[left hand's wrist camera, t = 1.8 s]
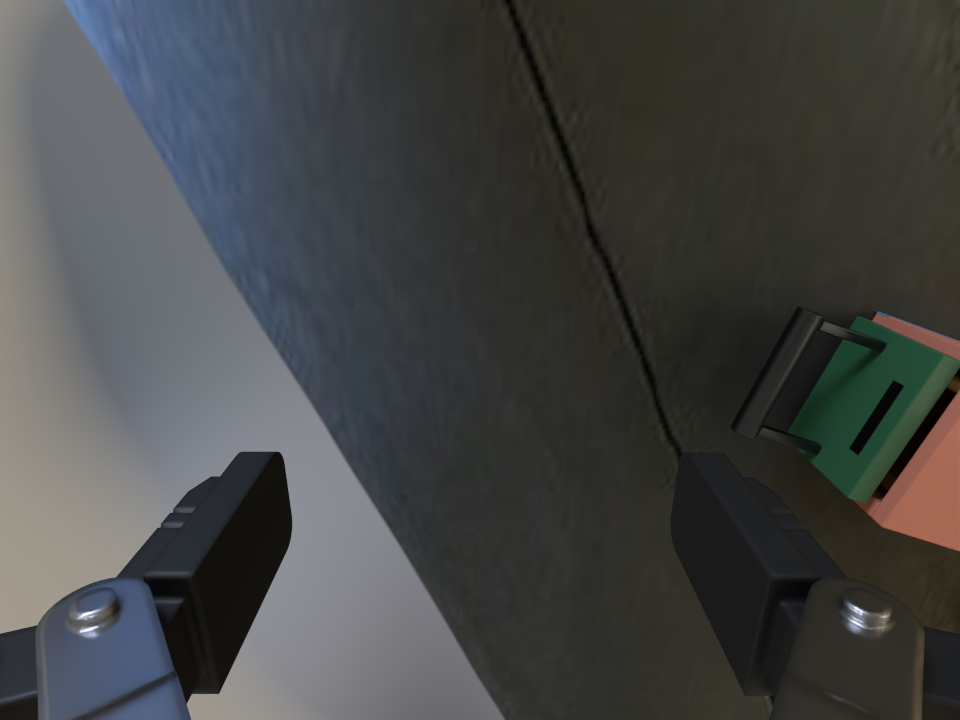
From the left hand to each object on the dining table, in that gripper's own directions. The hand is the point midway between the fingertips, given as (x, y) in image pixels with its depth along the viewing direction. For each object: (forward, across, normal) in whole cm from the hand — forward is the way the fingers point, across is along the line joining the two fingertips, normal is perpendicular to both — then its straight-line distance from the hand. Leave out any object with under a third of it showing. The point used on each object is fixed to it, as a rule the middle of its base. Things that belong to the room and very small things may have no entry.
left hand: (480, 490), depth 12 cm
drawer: (+23, -25, +8) cm, 35 cm away
